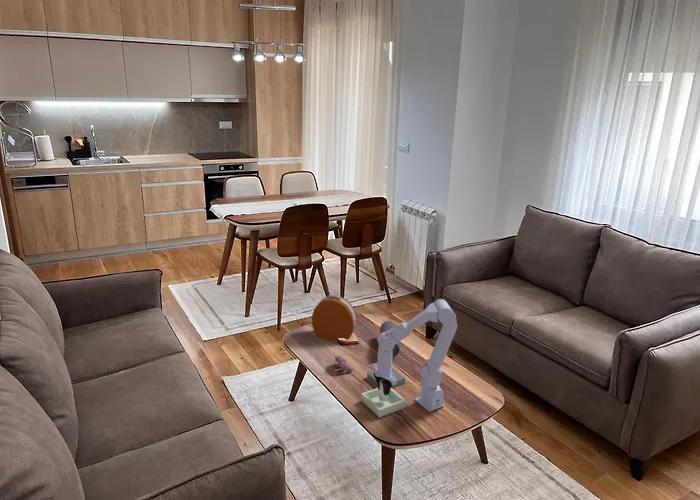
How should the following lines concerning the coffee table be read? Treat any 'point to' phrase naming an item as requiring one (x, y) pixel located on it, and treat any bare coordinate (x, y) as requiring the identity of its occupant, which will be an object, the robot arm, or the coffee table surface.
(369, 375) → the grey square frame
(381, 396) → the cylinder
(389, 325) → the bluetooth speaker
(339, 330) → the alarm clock
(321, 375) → the coffee table surface
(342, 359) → the video game controller
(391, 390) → the parts tray
